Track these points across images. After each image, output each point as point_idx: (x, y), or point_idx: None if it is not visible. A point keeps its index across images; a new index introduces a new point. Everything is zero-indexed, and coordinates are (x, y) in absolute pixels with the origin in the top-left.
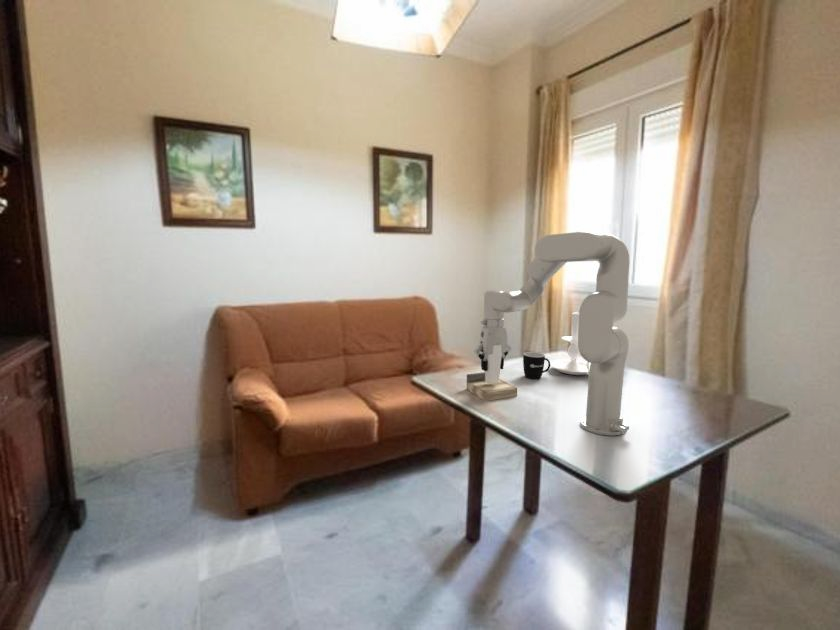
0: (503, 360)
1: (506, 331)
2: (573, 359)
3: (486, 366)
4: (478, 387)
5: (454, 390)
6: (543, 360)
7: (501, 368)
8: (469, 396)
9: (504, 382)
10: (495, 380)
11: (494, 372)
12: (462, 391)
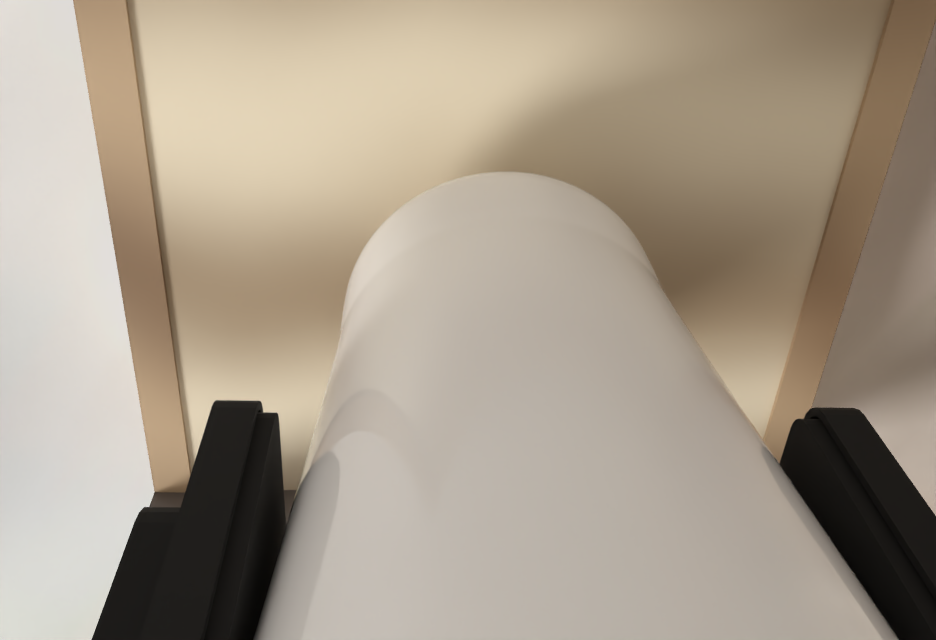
0: (143, 634)
1: None
2: None
3: (907, 504)
4: (834, 234)
5: (910, 466)
6: None
7: (273, 420)
8: (929, 188)
9: (163, 291)
10: (531, 189)
11: (610, 296)
12: (848, 400)
